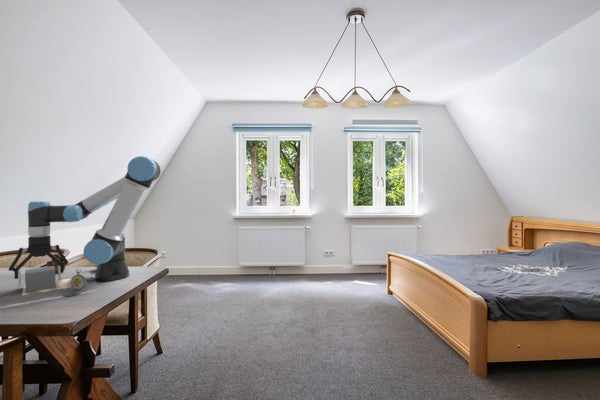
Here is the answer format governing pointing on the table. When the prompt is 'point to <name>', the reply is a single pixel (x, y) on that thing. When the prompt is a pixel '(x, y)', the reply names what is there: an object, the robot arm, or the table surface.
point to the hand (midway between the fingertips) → (40, 282)
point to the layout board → (59, 285)
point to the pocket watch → (78, 280)
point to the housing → (40, 278)
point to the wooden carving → (55, 264)
